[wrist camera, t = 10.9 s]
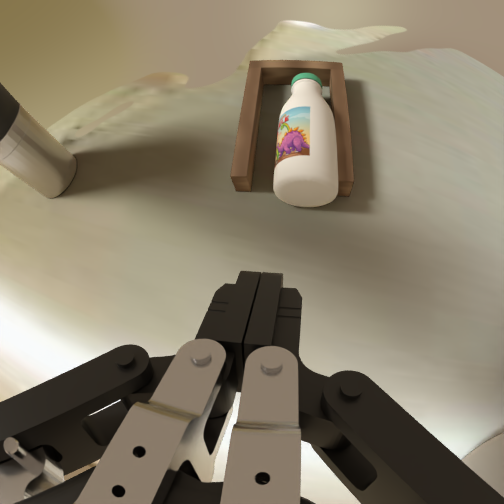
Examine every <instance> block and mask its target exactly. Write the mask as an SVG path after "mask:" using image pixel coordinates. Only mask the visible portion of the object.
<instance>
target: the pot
mask: <svg viewBox="0 0 504 504" xmlns="http://www.w3.org/2000/svg"><path fill="white" fill-rule="evenodd" d="M461 461H463V462H464V463H465V464H466V465H467V466H468V467H469V468H470V469H472V470H473V471H474V472H475V473H476V474H477V475H478V476H480V477H481V478H482V479H483V480H484V481H485V482H487V483H488V484H489V485H490V486H491V487H492V488H493V489H495V490H496V491H497V492H498V493H499V494H500V495H502V496H503V497H504V433H502V434H500V435H497V436H495V437H494V438H492V439H490V440H488V441H486V442H485V443H483V444H482V445H480V446H479V447H477V448H476V449H475V450H473V451H472V452H471V453H469V454H468V455H467V456H466V457H465V458H463V459H462V460H461Z"/></svg>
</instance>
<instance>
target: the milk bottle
mask: <svg viewBox="0 0 504 504" xmlns="http://www.w3.org/2000/svg"><path fill="white" fill-rule="evenodd" d="M291 92H292V96H291V97H290V99H289V100H288V101H287V102H286V103H285V105H284V107H283V108H282V111H281V114H280V118H279V125H278V134H277V145H276V157H275V169H274V182H273V190H274V192H275V195H276V196H277V197H278V198H279V199H280V200H281V201H283V202H285V203H288V204H290V205H294V206H299V207H317V206H322V205H326V204H328V203H330V202H331V201H333V200H334V199H335V198H336V196H337V194H338V161H337V143H336V130H335V121H334V117H333V113H332V111H331V109H330V107H329V105H328V104H327V103H326V101H325V100H324V99H323V98H322V96H321V95H322V83H321V80H320V79H319V78H318V77H317V76H316V75H314V74H311V73H300V74H298V75H296V76H295V77H294V78H293V80H292V84H291Z"/></svg>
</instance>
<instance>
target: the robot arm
mask: <svg viewBox="0 0 504 504" xmlns="http://www.w3.org/2000/svg"><path fill="white" fill-rule="evenodd" d="M0 165H2V166H3V167H4V168H6V169H7V170H8V171H10V172H11V173H13V174H14V175H15V176H17V177H18V178H19V179H21V180H22V181H24V182H25V183H26V184H28V185H29V186H31V187H32V188H33V189H35V190H36V191H38V192H39V193H41V194H42V195H44V196H45V197H47V198H53V197H56V196H58V195H60V194H61V193H62V192H63V191H64V190H65V189H66V188H67V187H68V186H69V184H70V183H71V181H72V179H73V177H74V175H75V172H76V168H77V162H76V159H75V157H74V156H73V155H72V154H71V153H70V152H69V151H67V150H66V149H65V148H64V147H63V146H62V145H61V144H60V143H59V142H58V141H57V140H56V139H55V138H54V137H53V136H52V135H51V134H50V133H49V132H48V131H47V130H46V129H45V128H44V127H43V126H42V125H41V124H40V123H38V121H37V120H36V119H35V118H33V117H32V116H31V115H30V114H29V113H28V112H27V111H26V110H25V109H24V108H23V107H22V106H21V105H20V104H19V103H18V102H17V101H16V100H15V99H14V98H13V96H12V95H10V93H9V92H8V91H7V90H6V89H5V88H4V86H3V85H2V84H1V83H0ZM301 309H302V297H301V295H300V293H299V292H298V290H297V289H296V288H283V274H282V273H267V272H262V273H261V272H251V271H240V273H239V276H238V279H237V281H236V284H226V283H225V284H224V285H223V286H222V287H220V288H219V289H218V290H217V291H216V292H215V294H214V297H213V299H212V302H211V303H210V306H209V308H208V311H207V312H206V315H205V317H204V319H203V322H202V324H201V326H200V328H199V331H198V333H197V335H196V338H195V340H192V341H189V342H187V343H186V344H184V345H183V346H182V347H181V348H180V349H179V350H178V352H177V354H176V355H172V356H164V357H151V358H149V356H148V353H147V352H146V350H145V349H143V348H142V347H140V346H137V345H123V346H120V347H117V348H115V349H113V350H111V351H109V352H107V353H105V354H103V355H101V356H99V357H97V358H95V359H92V360H90V361H88V362H86V363H84V364H82V365H80V366H78V367H76V368H74V369H72V370H69V371H67V372H65V373H63V374H61V375H59V376H57V377H55V378H52V379H50V380H48V381H46V382H44V383H42V384H40V385H37V386H35V387H33V388H31V389H29V390H27V391H24V392H22V393H20V394H18V395H16V396H13V397H11V398H9V399H7V400H4V401H2V402H0V504H315V503H313V502H312V501H310V500H308V499H306V498H303V497H301V496H300V482H301V440H302V441H305V442H308V443H310V444H311V446H312V448H313V449H314V451H315V452H316V453H317V454H318V455H319V456H320V458H321V459H322V460H323V461H324V462H325V463H326V465H327V466H328V467H329V468H330V469H331V470H332V472H333V473H334V474H335V475H336V476H337V477H338V478H339V480H340V481H341V482H342V483H343V484H344V485H345V486H346V487H347V488H348V490H349V491H350V492H351V493H352V494H353V495H354V496H355V497H356V498H357V499H358V500H359V502H360V503H361V504H504V497H503V496H502V495H500V494H499V493H498V492H497V491H496V490H495V489H493V488H492V487H491V486H490V485H489V484H488V483H487V482H485V481H484V480H483V479H482V478H481V477H480V476H478V475H477V474H476V473H475V472H474V471H473V470H472V469H470V468H469V467H468V466H467V465H466V464H465V463H464V462H463V461H461V460H460V459H459V458H458V457H457V456H456V455H455V454H453V453H452V452H451V451H450V450H449V449H448V448H447V447H446V446H444V445H443V444H442V443H441V442H440V441H439V440H438V439H437V438H435V437H434V436H433V435H432V434H431V433H430V432H429V431H428V430H426V429H425V428H424V427H423V426H422V425H421V424H420V423H419V422H418V421H416V420H415V419H414V418H413V417H412V416H411V415H410V414H409V413H408V412H406V411H405V410H404V409H403V408H402V407H401V406H400V405H399V404H398V403H396V402H395V401H394V400H393V399H392V398H391V397H390V396H389V395H388V394H387V393H385V392H384V391H383V390H382V389H381V388H380V387H379V386H378V385H377V384H376V383H374V382H373V381H372V380H371V379H370V378H369V377H368V376H366V375H364V374H362V373H360V372H356V371H341V372H337V373H335V374H333V375H332V376H330V377H327V376H324V375H321V374H318V373H315V372H313V371H311V370H310V369H308V368H307V367H306V366H305V365H304V364H303V363H302V361H301V359H300V357H299V339H300V325H301ZM236 392H241V397H240V404H239V411H238V418H237V422H236V424H234V426H233V429H232V433H231V439H230V446H229V452H228V458H227V464H226V471H225V477H224V482H211V481H212V478H213V474H214V464H215V459H216V456H217V453H218V450H219V448H220V445H221V442H222V440H223V437H224V434H225V431H226V429H227V426H228V423H229V420H230V418H231V415H232V411H233V402H234V398H235V395H236ZM120 399H121V401H119V402H117V403H115V404H113V405H111V406H109V407H107V408H105V409H103V410H101V411H99V412H97V413H95V414H93V415H90V414H92V413H94V412H96V411H98V410H100V409H102V408H104V407H106V406H108V405H110V404H112V403H114V402H116V401H118V400H120ZM88 415H90V416H88ZM99 459H100V461H99V463H98V464H97V466H95V467H92V468H90V469H88V470H86V471H84V472H83V473H80V474H78V475H77V476H74V477H73V478H70V479H69V480H66V481H64V479H63V476H64V475H67V474H69V473H71V472H73V471H75V470H77V469H80V468H82V467H84V466H86V465H88V464H91V463H93V462H95V461H97V460H99Z"/></svg>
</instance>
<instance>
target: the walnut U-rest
mask: <svg viewBox="0 0 504 504" xmlns="http://www.w3.org/2000/svg"><path fill="white" fill-rule="evenodd" d="M300 73H311V74H314V75H316V76H317V77H318V78H319V79H320V80H321V83H322V86H329V87H330V100H331V111H332V113H333V117H334V121H335V130H336V143H337V161H338V194H337V196H349V195H350V192H351V189H352V186H353V183H354V174H353V158H352V144H351V133H350V122H349V112H348V103H347V95H346V87H345V80H344V73H343V66H342V63H337V62H323V61H299V60H262V61H250V64H249V69H248V75H247V80H246V86H245V91H244V97H243V103H242V108H241V114H240V120H239V126H238V132H237V138H236V144H235V150H234V156H233V163H232V169H231V175H230V177H231V179H232V182H233V184H234V187H235V189H236V191H250V192H251V187H252V178H253V170H254V161H255V153H256V145H257V136H258V128H259V120H260V112H261V104H262V96H263V88H264V85H291V84H292V80H293V78H294V77H295V76H296V75H298V74H300Z"/></svg>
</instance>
